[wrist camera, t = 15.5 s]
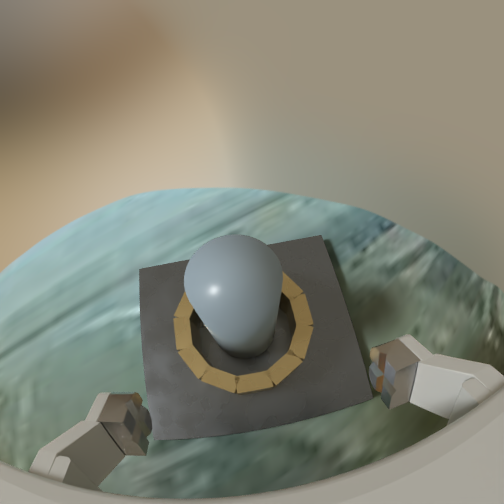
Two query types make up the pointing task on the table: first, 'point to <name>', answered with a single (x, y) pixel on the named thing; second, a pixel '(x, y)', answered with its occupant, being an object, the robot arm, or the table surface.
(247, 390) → the brass socket
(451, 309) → the table surface
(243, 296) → the grey capsule peg
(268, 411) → the mounting plate
